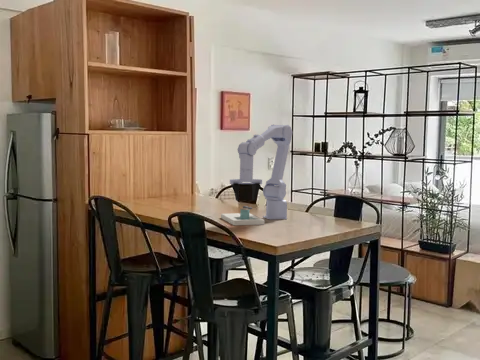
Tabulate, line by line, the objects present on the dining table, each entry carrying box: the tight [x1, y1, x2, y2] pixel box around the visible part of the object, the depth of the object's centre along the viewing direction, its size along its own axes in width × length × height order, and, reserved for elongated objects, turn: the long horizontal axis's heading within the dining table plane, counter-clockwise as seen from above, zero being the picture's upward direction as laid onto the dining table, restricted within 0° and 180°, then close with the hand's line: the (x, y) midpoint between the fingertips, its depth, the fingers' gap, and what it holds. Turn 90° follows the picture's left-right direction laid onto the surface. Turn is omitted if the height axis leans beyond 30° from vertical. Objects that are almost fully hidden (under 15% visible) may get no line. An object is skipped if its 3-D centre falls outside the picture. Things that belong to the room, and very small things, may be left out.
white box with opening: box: [220, 205, 265, 226], centre depth 244 cm, size 14×20×6 cm
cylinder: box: [239, 207, 251, 220], centre depth 240 cm, size 4×4×6 cm
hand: (245, 200), depth 240 cm, fingers open, 7 cm apart
